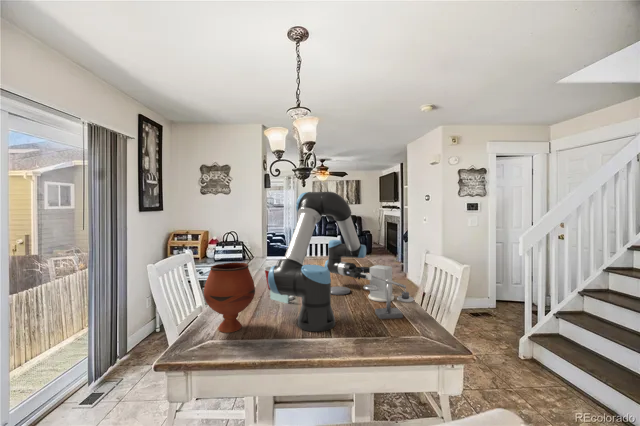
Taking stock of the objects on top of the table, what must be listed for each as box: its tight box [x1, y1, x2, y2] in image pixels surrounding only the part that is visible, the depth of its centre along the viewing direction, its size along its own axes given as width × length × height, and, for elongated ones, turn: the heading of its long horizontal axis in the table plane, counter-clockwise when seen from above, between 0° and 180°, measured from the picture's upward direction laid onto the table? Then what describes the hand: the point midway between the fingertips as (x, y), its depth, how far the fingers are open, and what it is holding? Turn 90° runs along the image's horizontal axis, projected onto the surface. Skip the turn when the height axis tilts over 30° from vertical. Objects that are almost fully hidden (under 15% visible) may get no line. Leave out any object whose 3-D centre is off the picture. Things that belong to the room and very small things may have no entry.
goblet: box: [203, 262, 256, 334], centre depth 120 cm, size 19×19×25 cm
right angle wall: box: [269, 290, 295, 304], centre depth 159 cm, size 12×12×8 cm
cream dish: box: [367, 293, 395, 303], centre depth 157 cm, size 13×13×1 cm
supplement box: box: [369, 264, 393, 299], centre depth 157 cm, size 9×9×15 cm
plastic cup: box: [263, 266, 272, 290], centre depth 177 cm, size 11×11×12 cm
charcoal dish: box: [331, 285, 351, 296], centre depth 169 cm, size 13×13×1 cm
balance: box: [363, 274, 415, 320], centre depth 133 cm, size 22×7×18 cm, turn 96°
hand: (379, 275), depth 158 cm, fingers open, 13 cm apart
